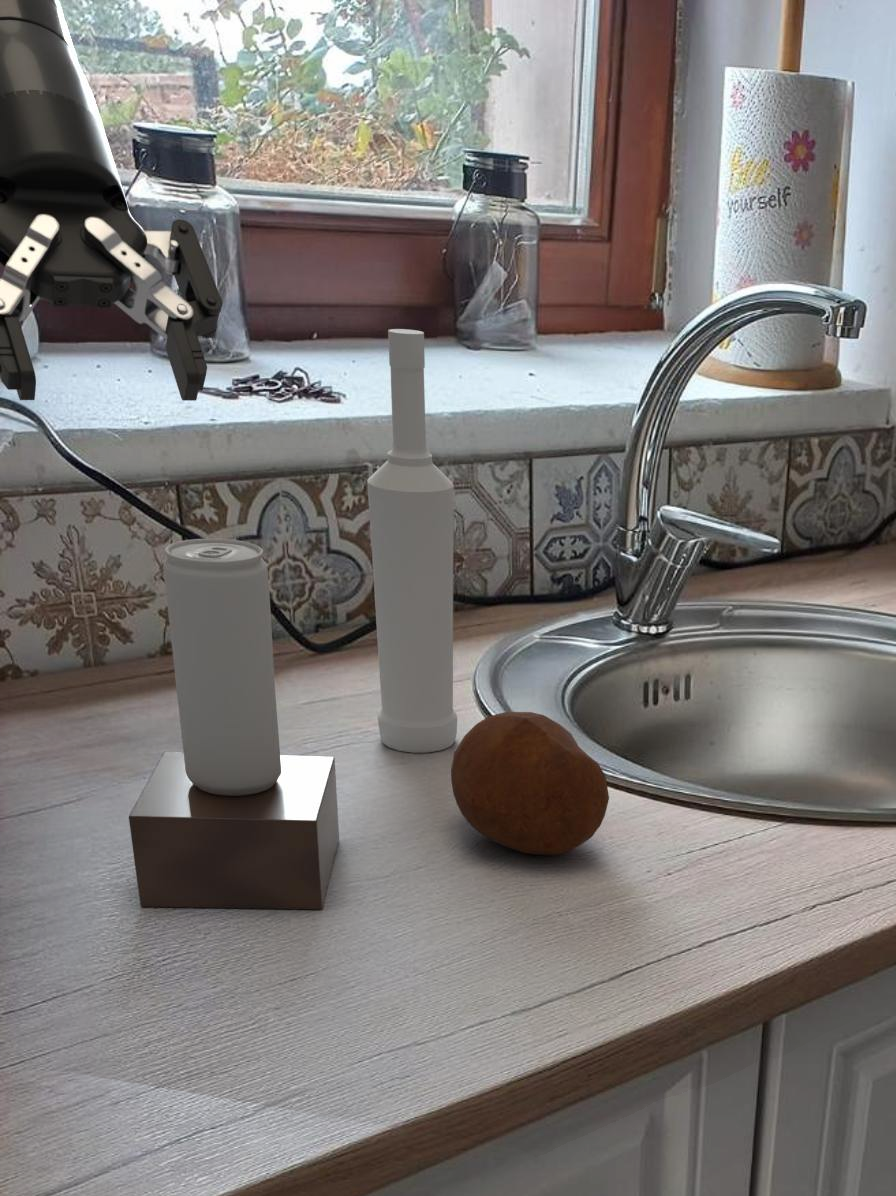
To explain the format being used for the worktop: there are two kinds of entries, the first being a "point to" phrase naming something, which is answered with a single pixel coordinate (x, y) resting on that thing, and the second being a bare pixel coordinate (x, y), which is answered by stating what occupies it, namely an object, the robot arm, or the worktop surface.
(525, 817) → the potato
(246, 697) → the beverage can
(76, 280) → the robot arm
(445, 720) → the bottle
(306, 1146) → the worktop surface
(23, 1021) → the worktop surface
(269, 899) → the metal block
